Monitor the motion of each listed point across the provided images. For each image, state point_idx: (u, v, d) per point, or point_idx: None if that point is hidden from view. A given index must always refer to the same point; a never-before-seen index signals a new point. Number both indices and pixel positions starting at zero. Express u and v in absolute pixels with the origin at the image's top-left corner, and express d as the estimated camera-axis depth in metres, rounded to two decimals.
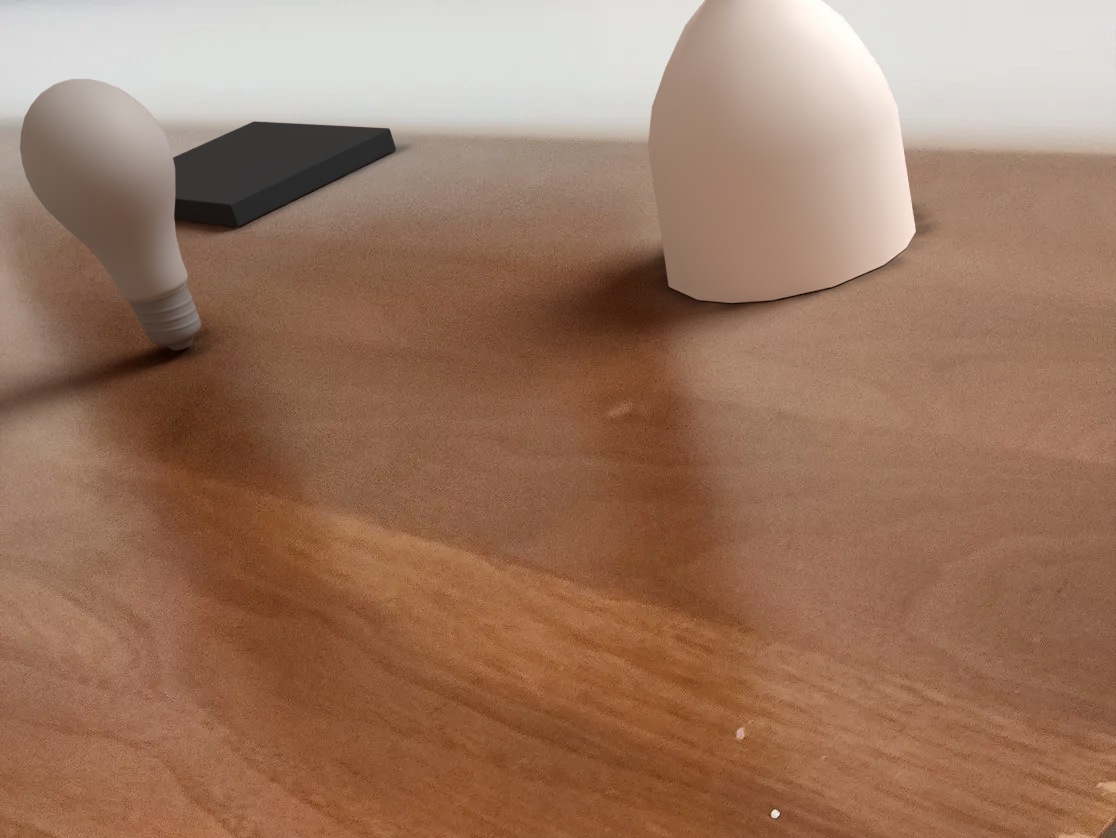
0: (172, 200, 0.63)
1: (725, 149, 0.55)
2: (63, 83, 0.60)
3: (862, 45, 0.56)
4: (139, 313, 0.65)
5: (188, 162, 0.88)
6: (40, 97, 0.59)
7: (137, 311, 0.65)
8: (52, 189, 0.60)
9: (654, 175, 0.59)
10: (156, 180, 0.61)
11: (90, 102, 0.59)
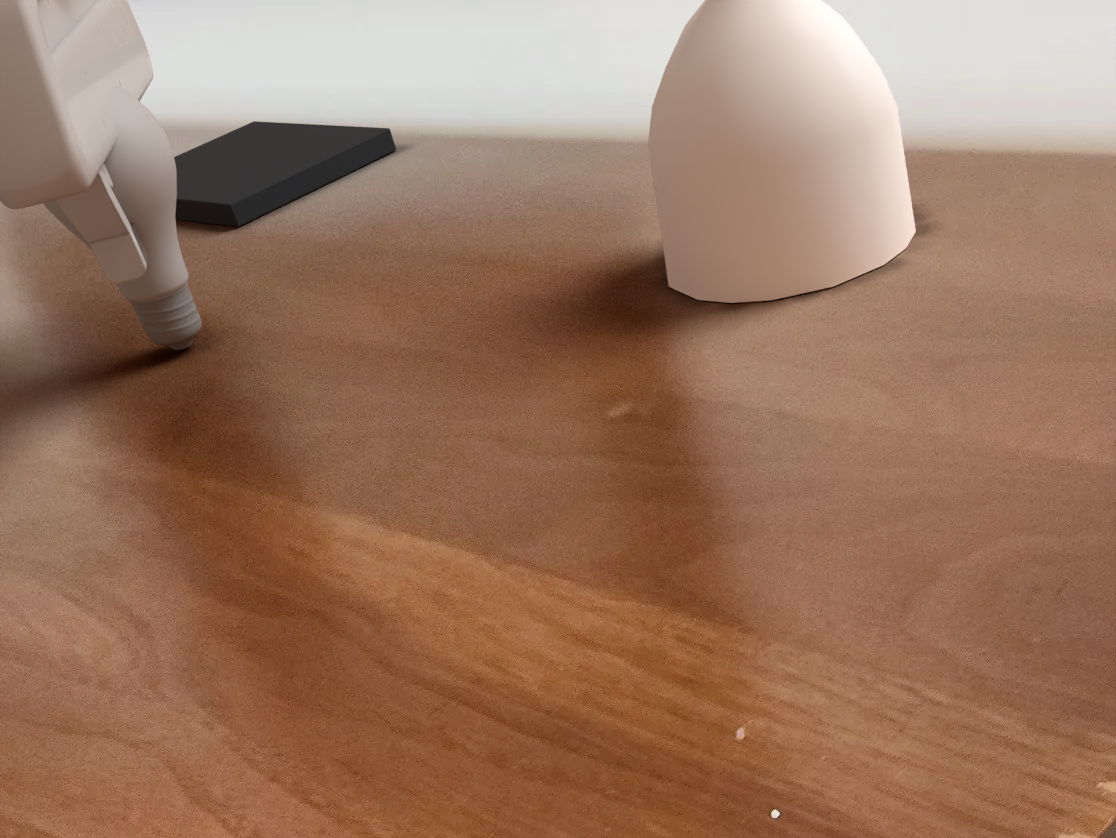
0: (173, 200, 0.63)
1: (725, 149, 0.55)
2: None
3: (862, 45, 0.56)
4: (140, 313, 0.65)
5: (188, 162, 0.88)
6: None
7: (138, 311, 0.65)
8: None
9: (654, 175, 0.59)
10: (157, 180, 0.61)
11: None
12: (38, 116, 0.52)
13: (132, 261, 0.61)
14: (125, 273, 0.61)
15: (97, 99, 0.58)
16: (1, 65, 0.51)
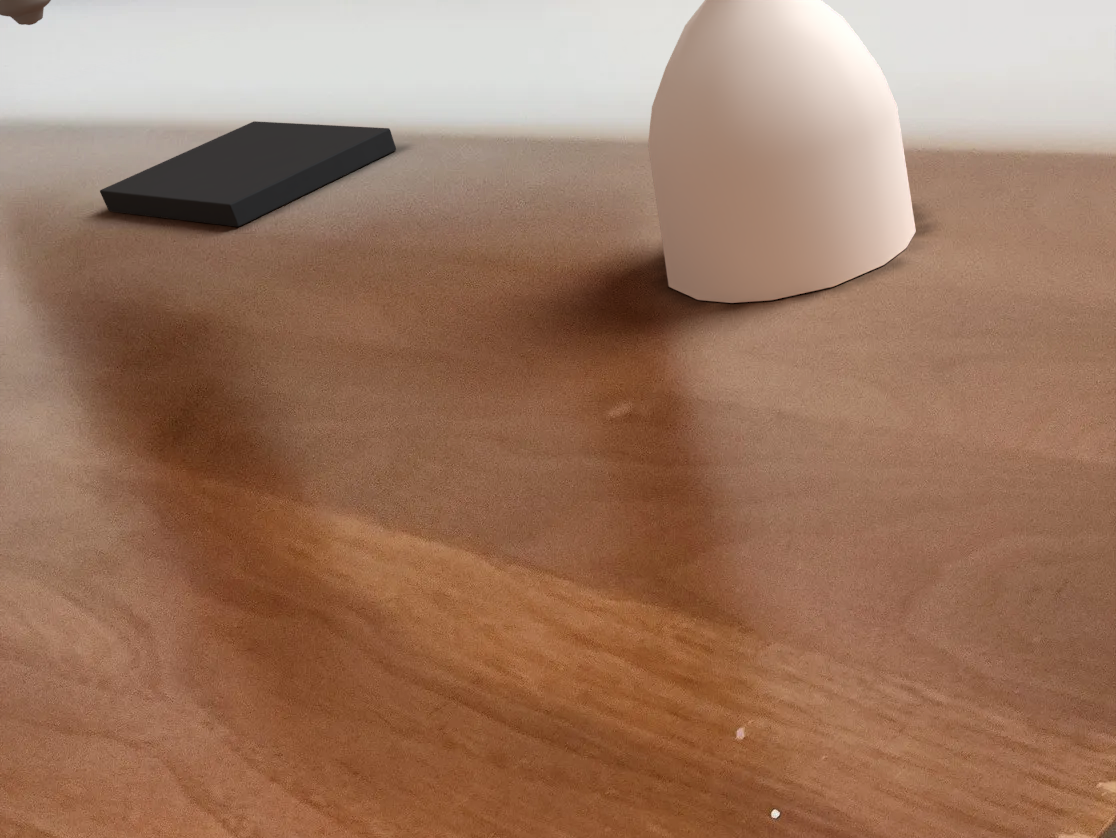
0: None
1: (725, 149, 0.55)
2: None
3: (862, 45, 0.56)
4: None
5: (188, 162, 0.88)
6: None
7: None
8: None
9: (654, 175, 0.59)
10: None
11: None
12: None
13: None
14: None
15: None
16: None
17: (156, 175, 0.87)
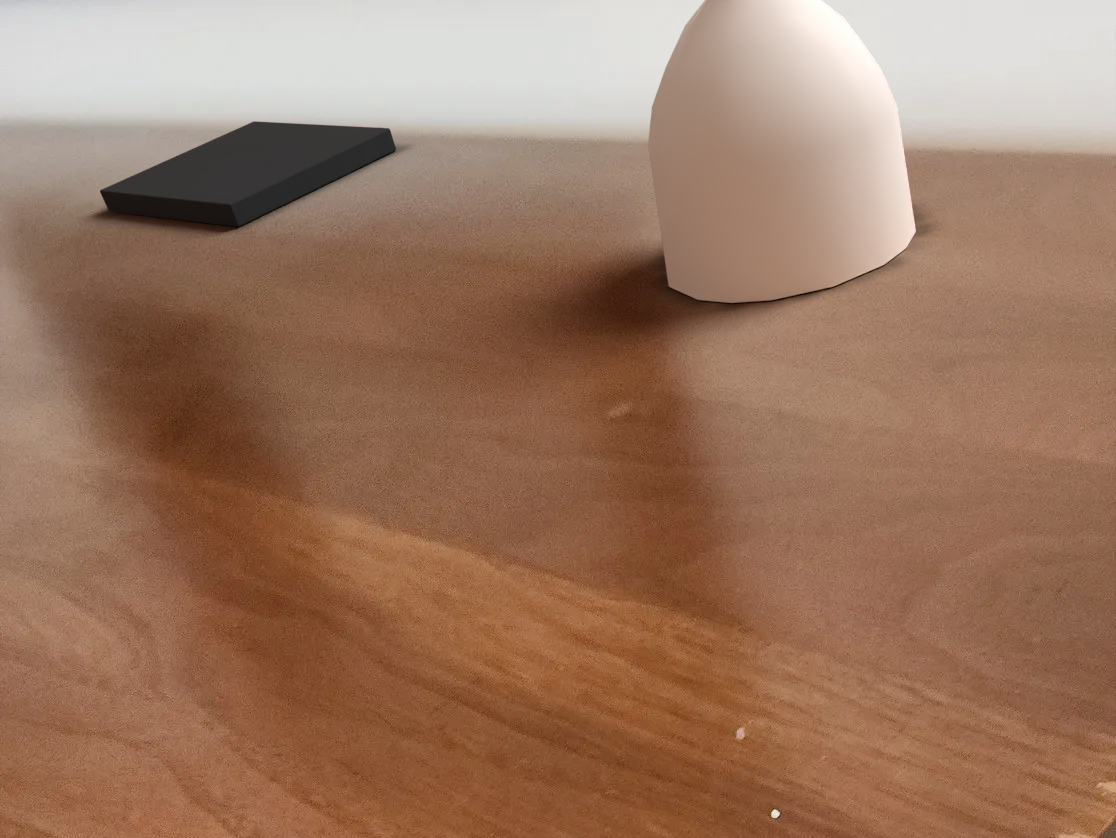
0: None
1: (725, 149, 0.55)
2: None
3: (862, 45, 0.56)
4: None
5: (188, 162, 0.88)
6: None
7: None
8: None
9: (654, 175, 0.59)
10: None
11: None
12: None
13: None
14: None
15: None
16: None
17: (156, 175, 0.87)
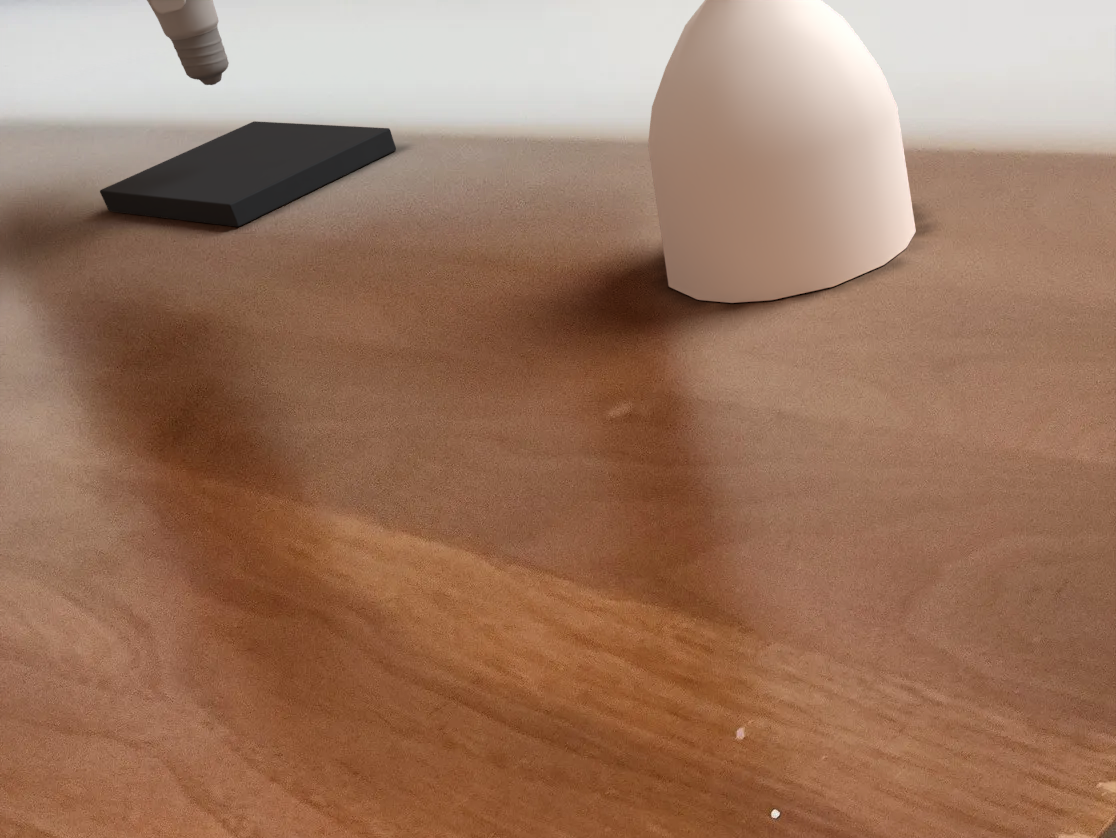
0: None
1: (725, 149, 0.55)
2: None
3: (862, 45, 0.56)
4: (179, 49, 0.81)
5: (188, 162, 0.88)
6: None
7: (177, 47, 0.81)
8: None
9: (654, 175, 0.59)
10: None
11: None
12: None
13: None
14: (169, 4, 0.77)
15: None
16: None
17: (156, 175, 0.87)
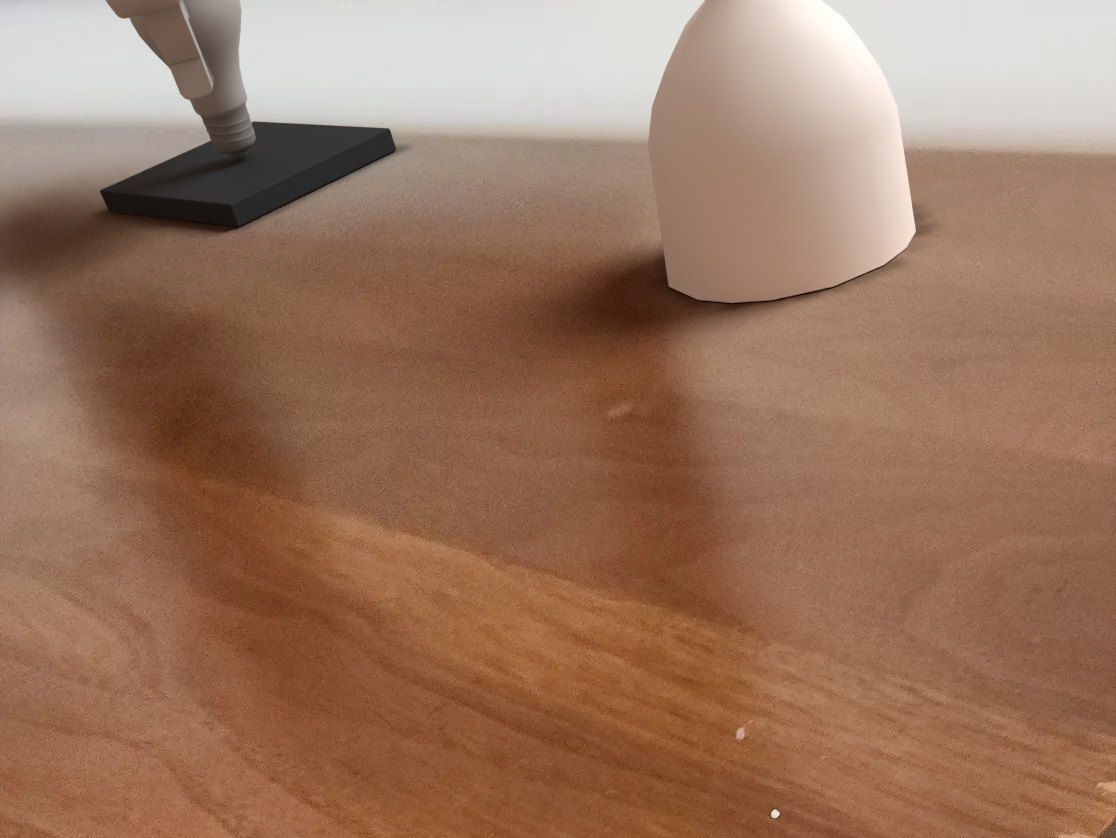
0: (239, 35, 0.81)
1: (725, 149, 0.55)
2: None
3: (862, 45, 0.56)
4: (209, 126, 0.83)
5: (188, 162, 0.88)
6: None
7: (207, 124, 0.83)
8: None
9: (654, 175, 0.59)
10: (229, 19, 0.79)
11: None
12: None
13: (202, 81, 0.78)
14: (196, 91, 0.79)
15: None
16: None
17: (156, 175, 0.87)
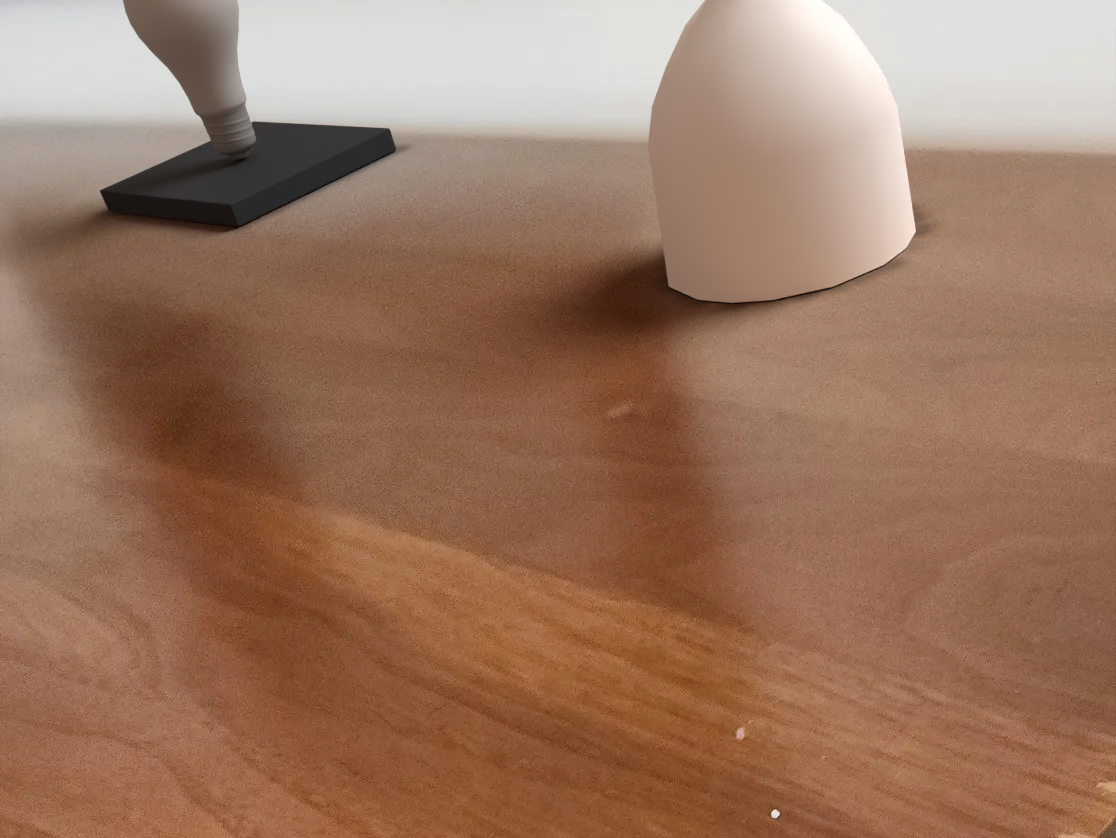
0: (236, 33, 0.81)
1: (725, 149, 0.55)
2: None
3: (862, 45, 0.56)
4: (208, 126, 0.84)
5: (188, 162, 0.88)
6: None
7: (207, 125, 0.84)
8: (147, 19, 0.78)
9: (654, 175, 0.59)
10: (225, 15, 0.80)
11: None
12: None
13: None
14: None
15: None
16: None
17: (156, 175, 0.87)
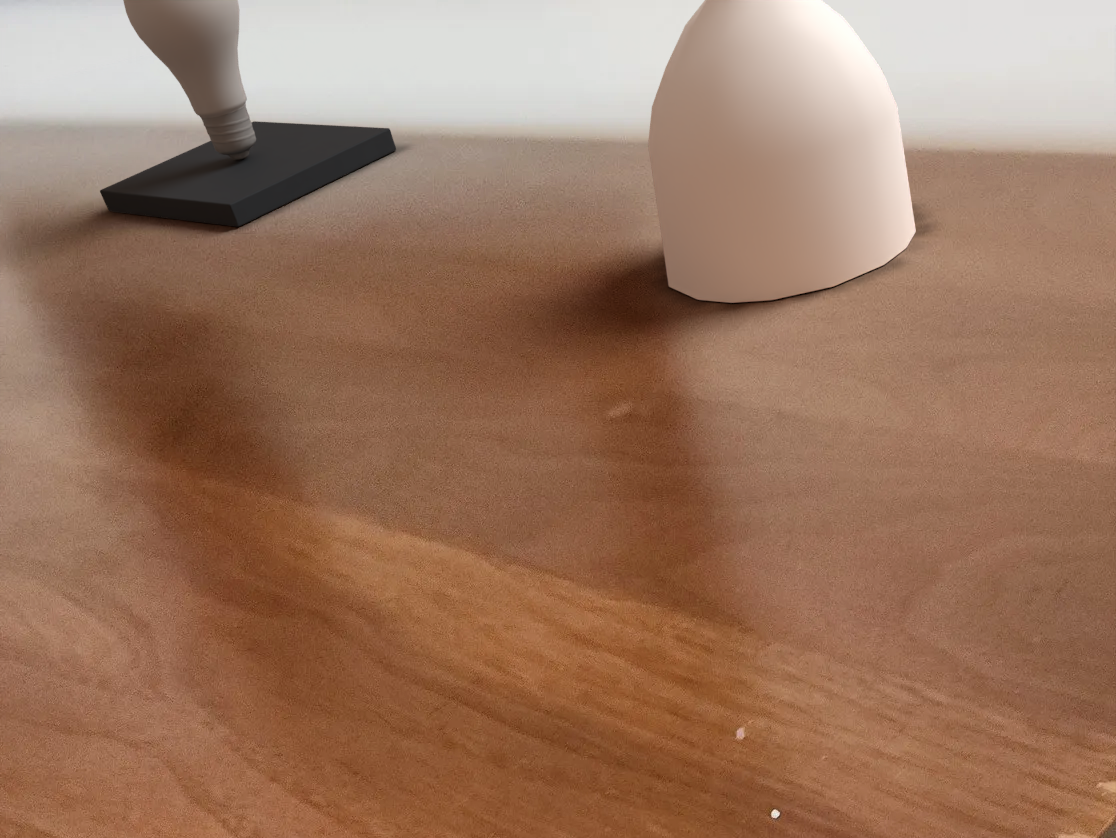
0: (237, 34, 0.81)
1: (725, 149, 0.55)
2: None
3: (862, 45, 0.56)
4: (209, 126, 0.84)
5: (188, 162, 0.88)
6: None
7: (207, 125, 0.84)
8: (147, 19, 0.78)
9: (654, 175, 0.59)
10: (226, 15, 0.80)
11: None
12: None
13: None
14: None
15: None
16: None
17: (156, 175, 0.87)
